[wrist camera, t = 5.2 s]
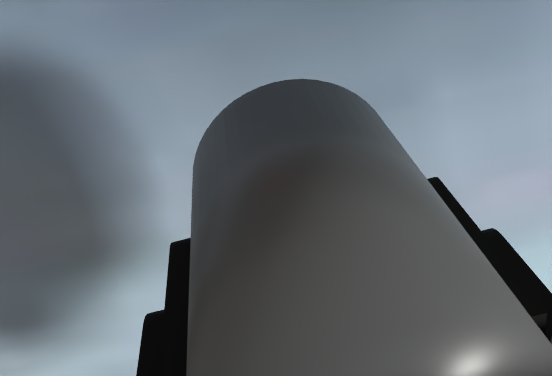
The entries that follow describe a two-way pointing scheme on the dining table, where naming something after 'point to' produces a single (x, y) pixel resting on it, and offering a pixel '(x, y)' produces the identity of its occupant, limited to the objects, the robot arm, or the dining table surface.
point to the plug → (337, 253)
